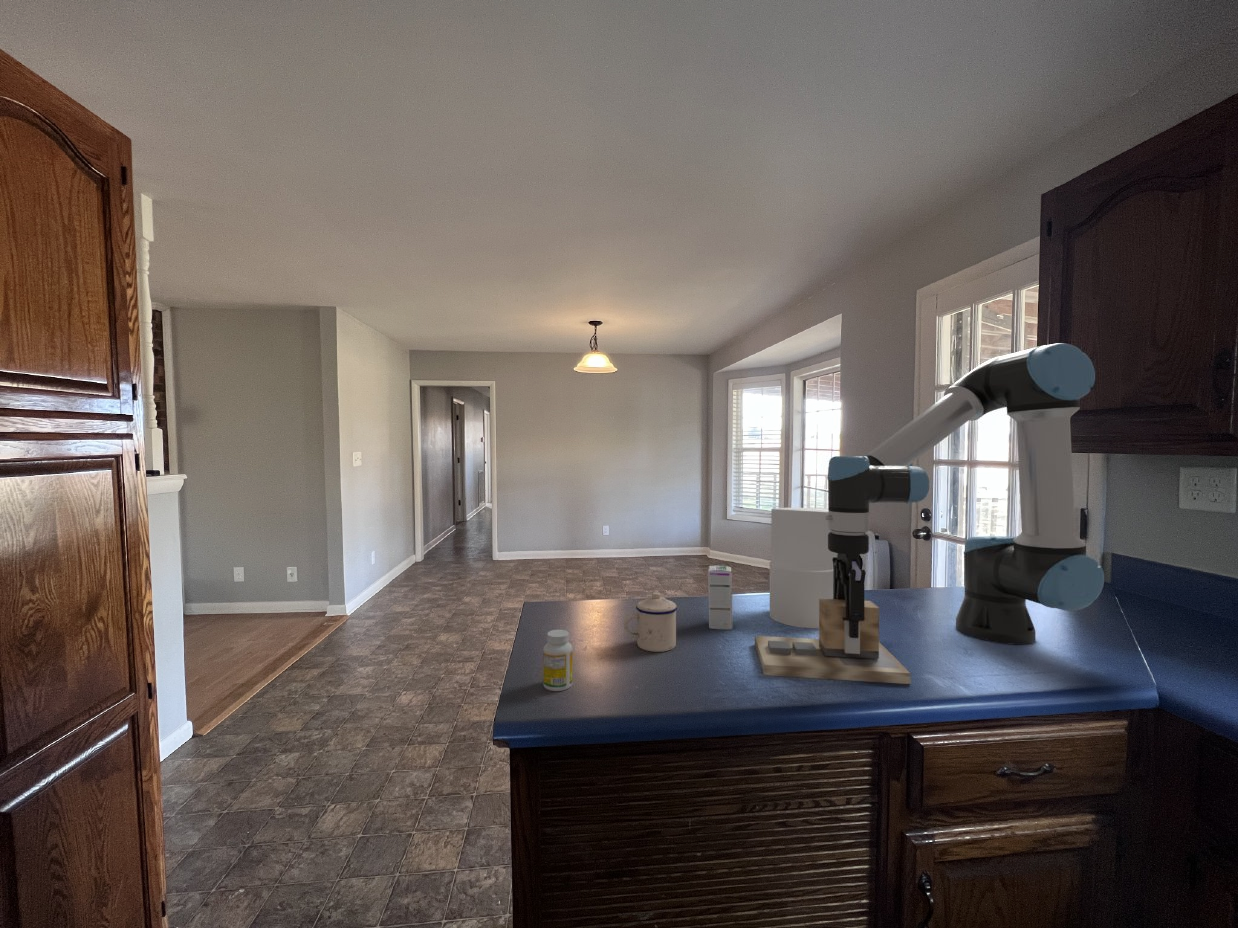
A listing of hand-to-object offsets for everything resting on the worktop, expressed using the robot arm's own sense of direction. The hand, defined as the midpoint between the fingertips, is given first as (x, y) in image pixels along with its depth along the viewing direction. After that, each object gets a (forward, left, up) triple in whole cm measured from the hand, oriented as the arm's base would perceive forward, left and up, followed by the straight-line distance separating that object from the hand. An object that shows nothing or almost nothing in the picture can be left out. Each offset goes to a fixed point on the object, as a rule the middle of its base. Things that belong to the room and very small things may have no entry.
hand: (847, 647), depth 101 cm
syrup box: (+24, -20, -4) cm, 32 cm away
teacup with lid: (+40, -4, -4) cm, 41 cm away
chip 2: (+8, 0, -1) cm, 8 cm away
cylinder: (+2, -30, -4) cm, 30 cm away
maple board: (+4, 0, -3) cm, 5 cm away
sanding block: (0, 0, -1) cm, 1 cm away
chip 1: (+13, 0, -1) cm, 13 cm away
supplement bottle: (+55, +18, -4) cm, 58 cm away
